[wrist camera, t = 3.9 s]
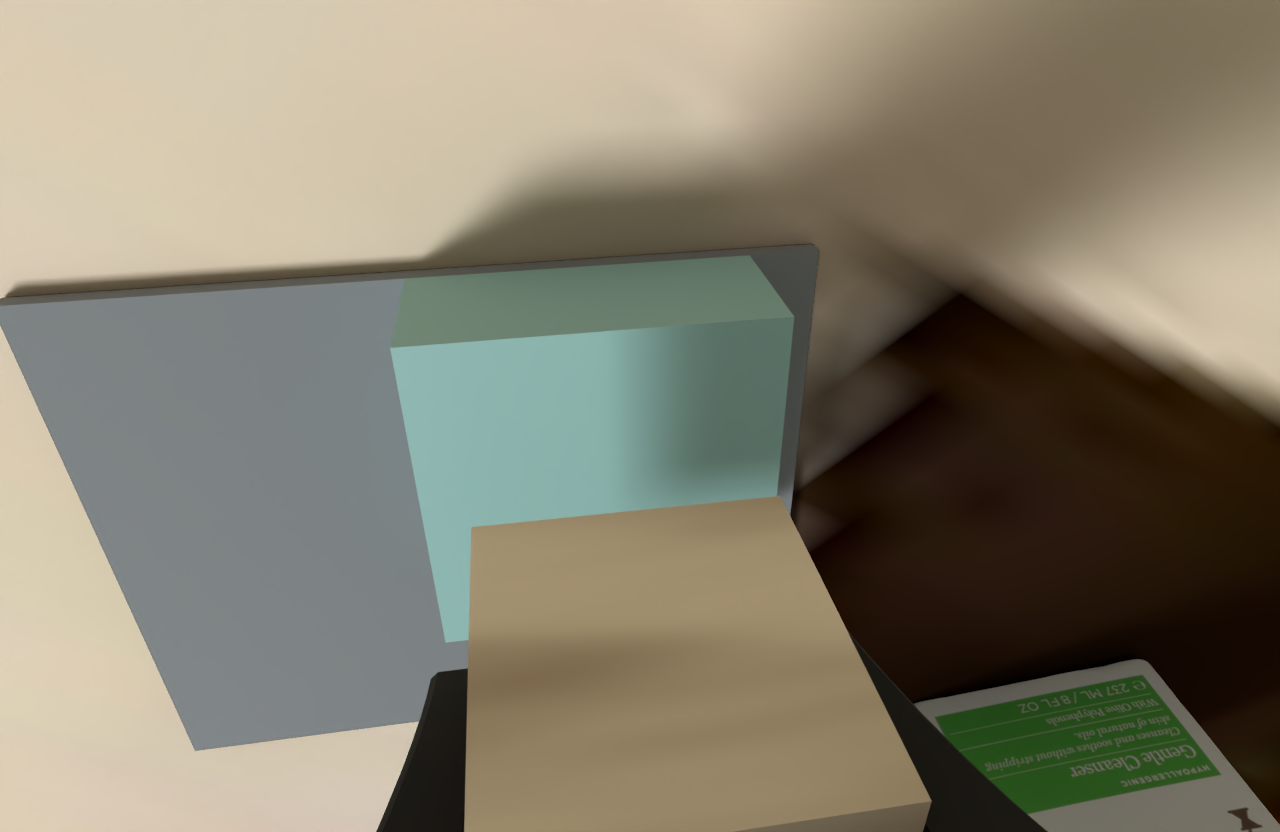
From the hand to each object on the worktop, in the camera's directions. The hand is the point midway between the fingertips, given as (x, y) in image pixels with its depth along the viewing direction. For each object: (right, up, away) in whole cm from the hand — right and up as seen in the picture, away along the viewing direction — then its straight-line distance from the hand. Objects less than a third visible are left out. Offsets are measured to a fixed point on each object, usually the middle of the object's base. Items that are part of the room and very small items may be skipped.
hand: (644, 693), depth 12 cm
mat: (-4, +1, +8) cm, 9 cm away
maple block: (0, +1, +1) cm, 1 cm away
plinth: (-1, +4, +7) cm, 8 cm away
